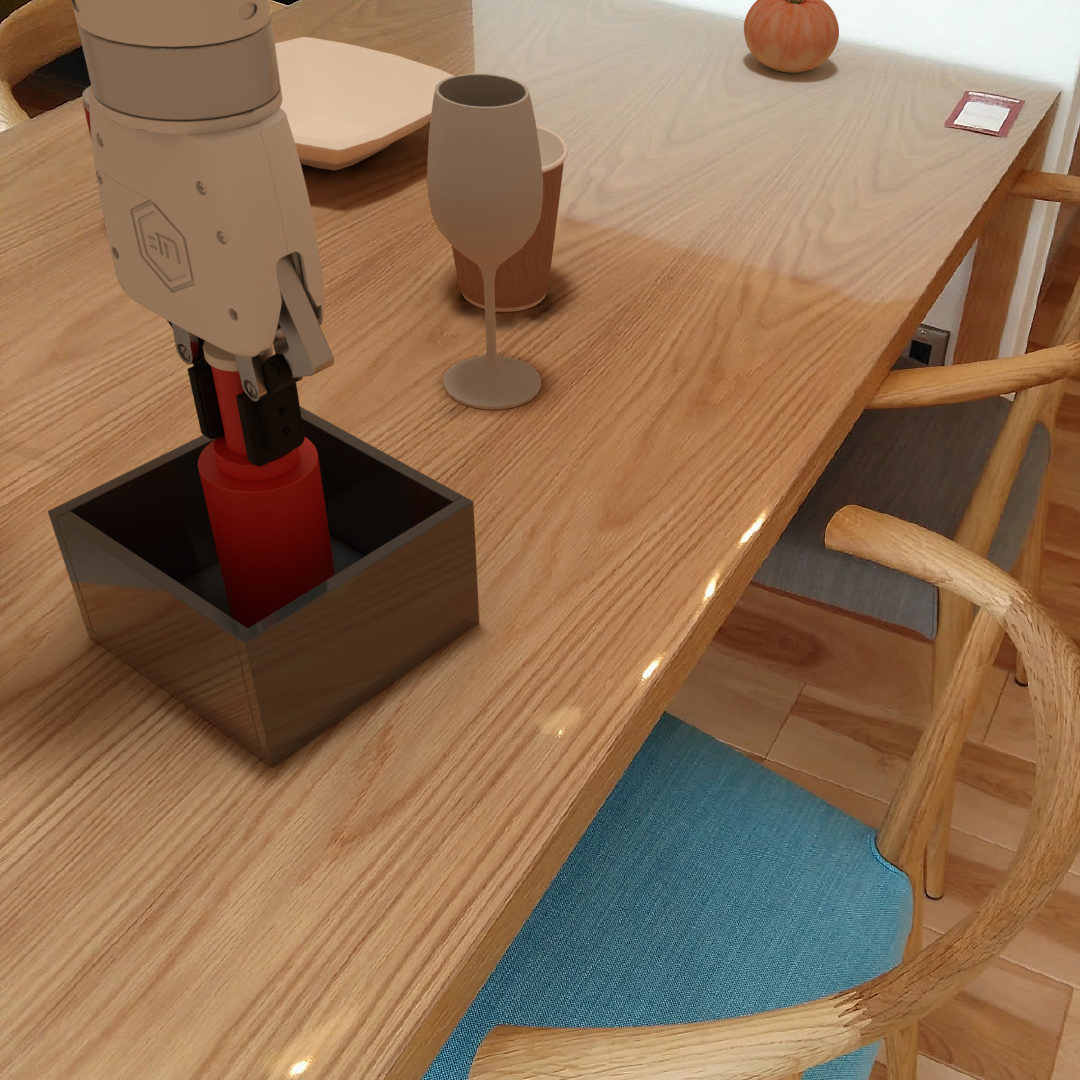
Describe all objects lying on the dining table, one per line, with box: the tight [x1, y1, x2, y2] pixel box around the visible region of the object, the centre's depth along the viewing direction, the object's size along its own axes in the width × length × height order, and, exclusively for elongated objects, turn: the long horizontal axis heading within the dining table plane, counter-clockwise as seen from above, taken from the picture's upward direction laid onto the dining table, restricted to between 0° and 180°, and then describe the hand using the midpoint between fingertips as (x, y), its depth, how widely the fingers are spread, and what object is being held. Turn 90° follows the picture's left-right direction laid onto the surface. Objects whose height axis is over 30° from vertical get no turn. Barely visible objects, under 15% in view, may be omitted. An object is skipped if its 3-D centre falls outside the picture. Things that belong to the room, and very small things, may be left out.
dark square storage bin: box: [47, 406, 480, 768], centre depth 73 cm, size 16×16×9 cm
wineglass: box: [426, 73, 543, 411], centre depth 90 cm, size 8×8×21 cm
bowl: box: [275, 36, 455, 172], centre depth 123 cm, size 22×23×6 cm
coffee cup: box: [451, 124, 569, 313], centre depth 103 cm, size 10×10×12 cm
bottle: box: [198, 341, 335, 629], centre depth 69 cm, size 6×6×18 cm
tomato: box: [743, 0, 840, 74], centre depth 148 cm, size 11×11×8 cm
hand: (253, 437), depth 67 cm, fingers closed on bottle, 2 cm apart
